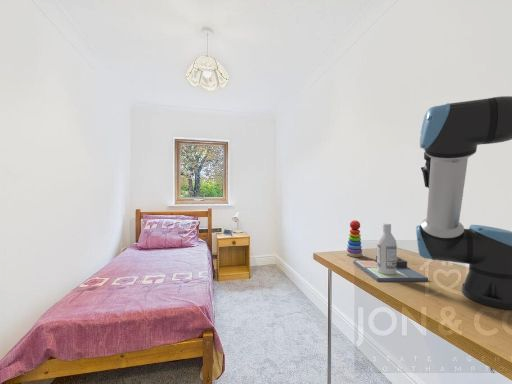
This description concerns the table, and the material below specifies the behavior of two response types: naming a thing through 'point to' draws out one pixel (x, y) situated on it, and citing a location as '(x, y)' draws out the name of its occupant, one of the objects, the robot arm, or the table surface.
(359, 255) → the stacking toy
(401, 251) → the table surface
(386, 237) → the bath foam
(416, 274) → the picture board
